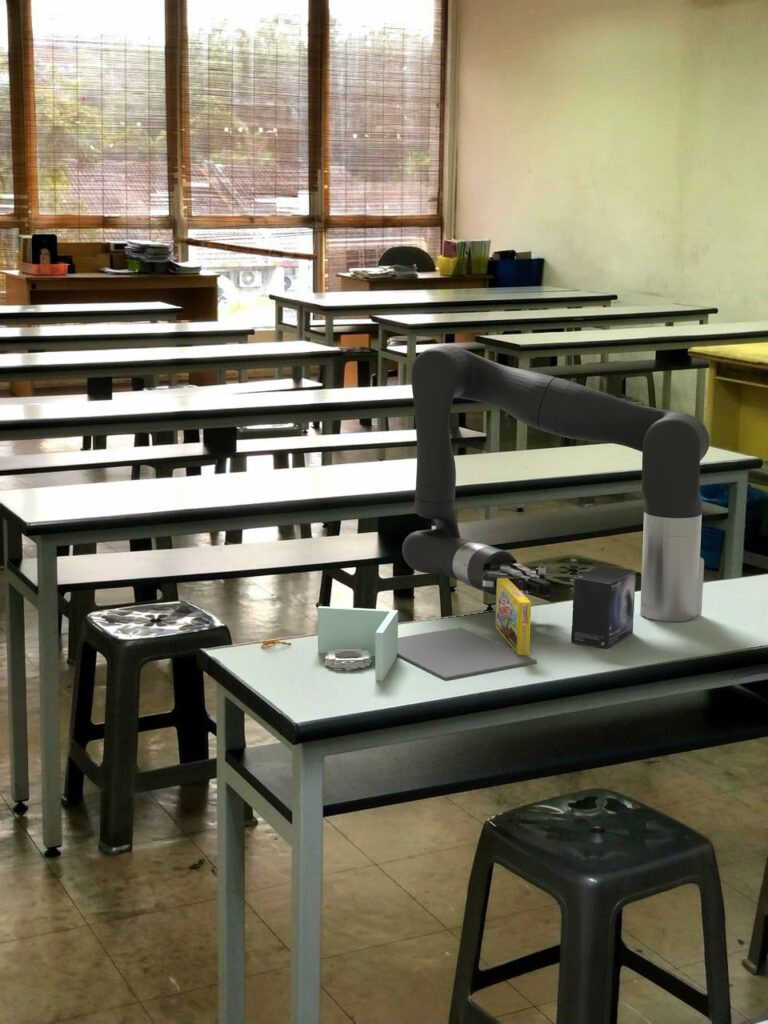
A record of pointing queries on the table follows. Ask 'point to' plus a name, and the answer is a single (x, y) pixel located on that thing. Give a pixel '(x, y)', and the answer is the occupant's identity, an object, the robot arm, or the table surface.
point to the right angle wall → (358, 638)
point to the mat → (458, 653)
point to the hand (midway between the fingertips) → (547, 590)
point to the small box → (603, 606)
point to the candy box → (513, 616)
